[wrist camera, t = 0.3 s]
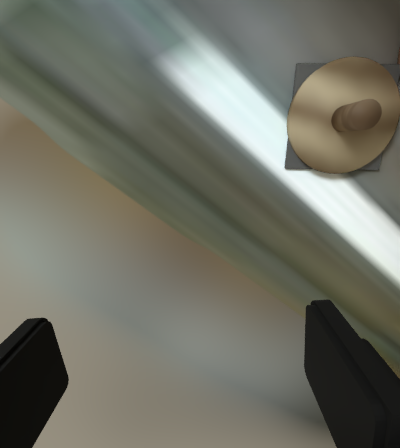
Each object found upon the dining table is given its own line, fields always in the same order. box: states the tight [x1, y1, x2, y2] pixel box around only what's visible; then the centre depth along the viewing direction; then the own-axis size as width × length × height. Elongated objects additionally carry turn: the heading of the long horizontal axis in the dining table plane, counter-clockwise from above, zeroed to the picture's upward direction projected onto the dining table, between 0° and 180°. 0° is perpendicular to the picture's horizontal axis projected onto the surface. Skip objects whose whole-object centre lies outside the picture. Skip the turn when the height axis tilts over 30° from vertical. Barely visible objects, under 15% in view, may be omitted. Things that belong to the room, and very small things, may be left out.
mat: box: [285, 63, 400, 170], centre depth 34 cm, size 13×13×1 cm
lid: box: [287, 57, 400, 174], centre depth 31 cm, size 14×14×6 cm
